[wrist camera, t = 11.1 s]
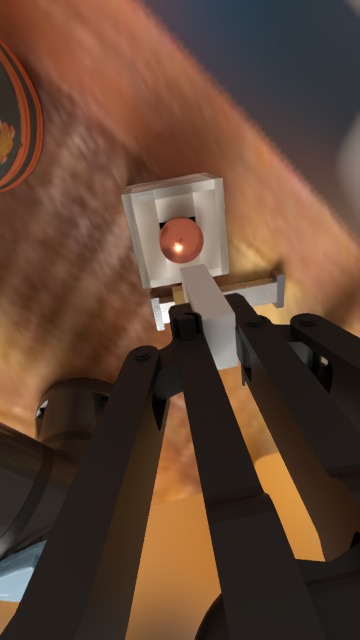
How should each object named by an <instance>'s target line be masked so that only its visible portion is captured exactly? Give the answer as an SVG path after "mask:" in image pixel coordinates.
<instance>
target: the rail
mask: <svg viewBox="0 0 360 640" xmlns="http://www.w3.org/2000/svg"><path fill="white" fill-rule="evenodd" d="M284 278H285V274H284V273H283V272H281V271H280V270H279V269H276V270H271V277H269V278H263V279H258V280H253V281H247V282H242V283H237V284H231V285H226V286H221V287H219V289H220V290H221V292H222V294H223V295H227V294H232V293H238V294H240V295H243V296H244V297H245V299H246V300H247V301H248V303H249V304H250V305H251V307H254V306H259V305H264V304H270V303H272V304H273V305H274V306H275V307H276V308H282V307H284ZM150 295H151V303H152V307H153V311H154V316H155V320H156V325H157V329H158V331H160V330H165V326H164V323H169V322H170V319H169V314H168V310H169V309H170V307H171V306H173V305H175V302H174V297H173V295H172V296H167V297H162V298H159V296H158V292H152V293H150Z"/></svg>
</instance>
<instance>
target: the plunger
mask: <svg viewBox="0 0 360 640" xmlns="http://www.w3.org/2000/svg"><path fill="white" fill-rule="evenodd" d="M159 243H160V248H161V251H162V253H163V254H164V256H165V257H166V258H167V259H168V260H170V261H172V262H174V263H179V264H184V263H188V262H191V261H192V260H194V259H195V258H196V257H197V256H198V255H199V254H200V253H201V251H202V248H203V244H204V237H203V233H202V231H201V229H200V228H199V226H198V225H197V224H196V223H195V222H194V221H193V220H191V219H189V218H187V217H175V218H172V219H170V220H169V221H167V222H166V223H165V224H164V225H163V227H162V229H161V231H160V234H159Z"/></svg>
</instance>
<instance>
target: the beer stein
mask: <svg viewBox="0 0 360 640" xmlns="http://www.w3.org/2000/svg"><path fill="white" fill-rule="evenodd" d="M42 142H43V118H42V112H41V107H40V103H39V100H38V97H37V94H36V92H35V89H34V87H33V85H32V83H31V81H30V79H29V77H28V75H27V74H26V72H25V70H24V69H23V67H22V65H21V64H20V62H19V61H18V60H17V58H16V57H15V55H14V54H13V53H12V52H11V50H10V49H9V48H8V47H7V46H6V45H5V44H4V43H3V42H2V40H1V39H0V192H4V191H8V190H10V189H12V188H14V187H16V186H17V185H19V184H20V183H21V182H22V181H23V180H25V178H26V177H27V176H28V175H29V174H30V173H31V172H32V170H33V169H34V167H35V165H36V163H37V161H38V158H39V156H40V152H41V148H42Z"/></svg>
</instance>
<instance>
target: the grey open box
mask: <svg viewBox="0 0 360 640" xmlns="http://www.w3.org/2000/svg"><path fill="white" fill-rule="evenodd" d="M121 197H122V201H123V205H124V210H125V214H126V218H127V222H128V226H129V231H130V235H131V239H132V243H133V248H134V252H135V256H136V260H137V264H138V269H139V273H140V277H141V281H142V286H143V289H148V288H154V287H159V286H164V285H170V284H175V283H181V282H182V280H181V274H180V268H183V267H188V266H194V265H199V264H204V265H205V266H206V268H207V269H208V271H209V273H210V274H211V276H212V277H213V276H218V275H224V274H229V260H228V245H227V231H226V216H225V202H224V187H223V177H220V176H216V175H212V174H209V173H205V172H203V173H197V174H192V175H186V176H180V177H175V178H169V179H164V180H158V181H152V182H147V183H141V184H135V185H130V186H126V188H125V190H124V191H123V193H122V195H121ZM175 217H187V218H188V217H194V219H195V223H196V224H197V225H198V226H199V228H200V229H201V231H202V233H203V237H204V244H203V248H202V251H201V253H200V254H199V255H198V256H197V257H196V258H195V259H194V260H192V261H191V262H188V263H184V264H179V263H174V262H172V261H170V260H168V259H167V258H166V257H165V256H164V254H163V253H162V251H161V248H160V243H159V234H160V226H159V223H161V222H166V221H169V220H170V219H172V218H175Z"/></svg>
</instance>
